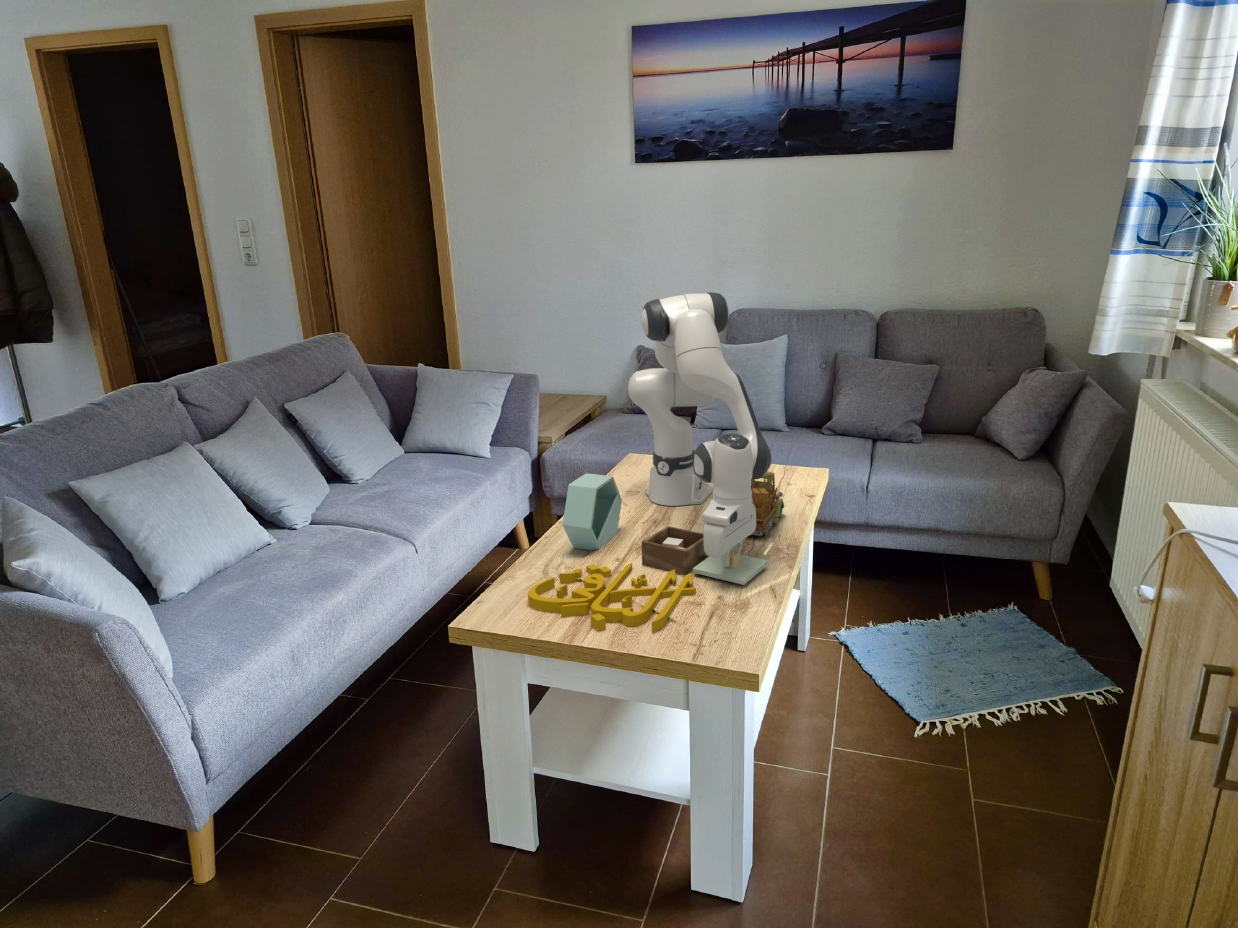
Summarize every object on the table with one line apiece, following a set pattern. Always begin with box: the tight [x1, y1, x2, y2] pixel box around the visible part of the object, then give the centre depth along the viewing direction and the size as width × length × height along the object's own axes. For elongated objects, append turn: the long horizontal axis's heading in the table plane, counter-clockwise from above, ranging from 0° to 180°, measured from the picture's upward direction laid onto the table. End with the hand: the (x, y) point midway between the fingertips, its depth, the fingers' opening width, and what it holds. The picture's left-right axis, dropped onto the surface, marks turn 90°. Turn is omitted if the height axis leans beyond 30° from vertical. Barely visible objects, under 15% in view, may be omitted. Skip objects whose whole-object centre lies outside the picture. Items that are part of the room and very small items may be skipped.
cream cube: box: [662, 537, 683, 548], centre depth 207 cm, size 4×4×4 cm
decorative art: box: [527, 562, 697, 633], centre depth 188 cm, size 34×3×30 cm
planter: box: [562, 472, 623, 551], centre depth 217 cm, size 17×8×21 cm
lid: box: [692, 549, 769, 586], centre depth 197 cm, size 13×13×4 cm
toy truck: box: [749, 470, 785, 539], centre depth 226 cm, size 11×25×15 cm, turn 156°
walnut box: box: [641, 525, 709, 577], centre depth 204 cm, size 12×12×7 cm
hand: (730, 561), depth 197 cm, fingers closed on lid, 3 cm apart
